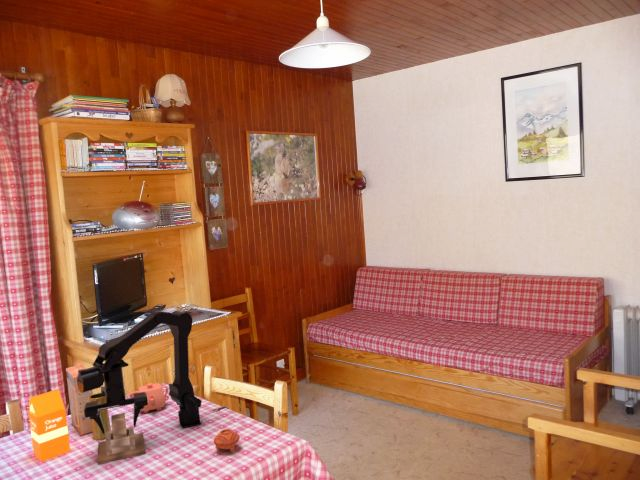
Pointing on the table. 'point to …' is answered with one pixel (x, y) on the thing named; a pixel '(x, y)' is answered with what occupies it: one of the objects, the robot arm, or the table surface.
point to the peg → (119, 426)
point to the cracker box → (78, 401)
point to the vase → (105, 418)
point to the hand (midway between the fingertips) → (119, 429)
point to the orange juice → (48, 425)
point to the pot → (226, 439)
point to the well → (120, 447)
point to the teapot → (153, 396)
